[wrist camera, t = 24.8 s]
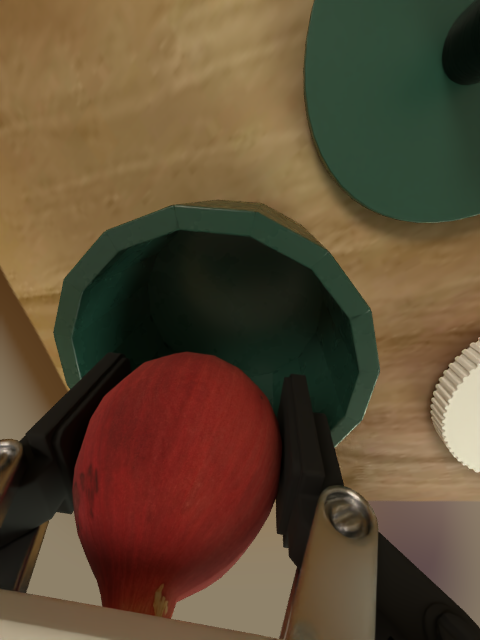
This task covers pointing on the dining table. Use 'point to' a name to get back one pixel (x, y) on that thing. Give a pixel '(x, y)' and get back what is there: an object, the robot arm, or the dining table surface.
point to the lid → (398, 103)
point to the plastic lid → (460, 407)
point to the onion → (174, 480)
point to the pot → (224, 304)
